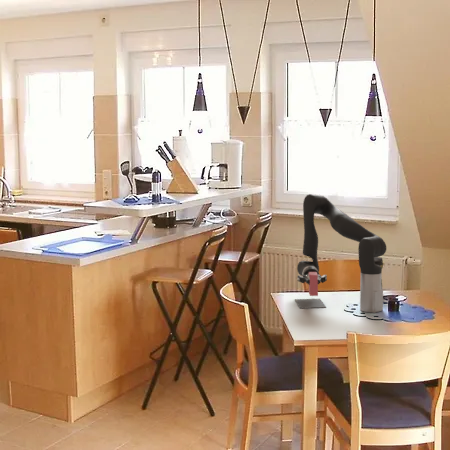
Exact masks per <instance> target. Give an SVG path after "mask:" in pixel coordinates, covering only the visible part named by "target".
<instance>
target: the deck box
mask: <svg viewBox="0 0 450 450" xmlns="http://www.w3.org/2000/svg"><path fill="white" fill-rule="evenodd" d="M309 280H310V285H308V294H309V296H310V297H318V296H319V288H318V287H319V286H318V285H319V284H318V274H317V272H309Z"/></svg>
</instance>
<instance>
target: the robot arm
mask: <svg viewBox="0 0 450 450" xmlns="http://www.w3.org/2000/svg"><path fill="white" fill-rule="evenodd" d="M302 211H303V229H304V230H303V231H304V232H303V233H304V235H303V246H302V255H304V256H305V257H309V258H311V260H300V261H299V262H298V263H297V267H296V270H297V273H298V275H297V276H296V277H297V278H296V279H297V282H299V283H302V284H305V283H306V284H307V285H308V286H309V285H310V280H309V272H317V274H318V285H320V284H323V283H325V282H327V279H328V278H327V277H328V276H327V274H323V275H321V274H320V266H319V259H318V249H319V236H318V235H319V234H318V232H317V230H316V226H315V222H314V221H315V220H314V219H315V218H314V217H315V214H316V215H321V216H323V217H325V218H326V219H327V220H328V221H329V224H330V226H331V228H332V229H333V230H334V231H335V232H337V234H339V235H341V236H342V237H344V238H347V239H349V240H351V241H355V242H358V249H357V250H358V266H359V269H360V286H359V288H360V290H359V292H360V293H359V294H360V296H359V309H360V311H361V312H365V313H379V312H382V311H383V310H384V308H383V307H384V290H383V288H382V289H381V272H382V270H383V268H382V269H381V266H379V265H376V264H375V263H374V257H381V256H384V255H385V254H386V252H387V244H386V242H385V240H384V239H383V238H382V237H380V236H379V235H377V234H375V233H373V232H371V231H370V230H368V229H367V228H365V227H364V226H363V225H361V224H360V223H358V222H357V221H356V220H355V219H353V218H352V217H351V216H349V215H348V214H346V212H344V211H343V210H340V209H339V208H338V207H337V206H335V205H334V204H333V203H332V202H331V200H329V199H328V198H327V197H326V196H324V195H321V194H314V193H309V194H306V196H305V197H304V199H303V207H302Z"/></svg>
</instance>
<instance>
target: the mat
mask: <svg viewBox="0 0 450 450" xmlns="http://www.w3.org/2000/svg"><path fill="white" fill-rule="evenodd" d="M294 301H295V302H296V304H297V306H298V307H299V309H324V308H325V309H326V308H327V306H326V304H325V303H324V302H323V301H322V299H321V298H299V299H298V298H297V299H294Z"/></svg>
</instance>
